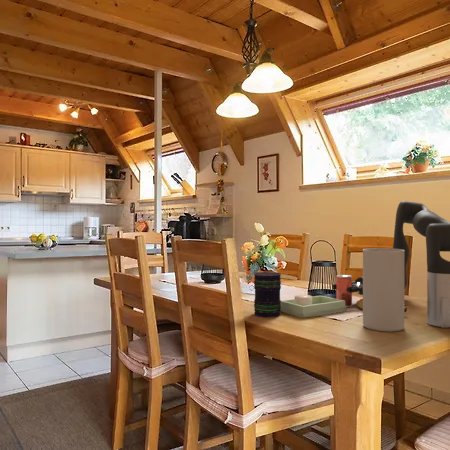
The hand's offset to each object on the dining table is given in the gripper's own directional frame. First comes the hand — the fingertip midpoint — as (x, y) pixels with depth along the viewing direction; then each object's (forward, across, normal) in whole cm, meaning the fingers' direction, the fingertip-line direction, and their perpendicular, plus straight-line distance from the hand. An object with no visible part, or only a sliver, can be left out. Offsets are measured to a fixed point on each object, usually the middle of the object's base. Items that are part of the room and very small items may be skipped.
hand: (340, 288), depth 173 cm
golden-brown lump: (-5, +15, +7) cm, 18 cm away
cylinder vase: (+14, +31, +7) cm, 35 cm away
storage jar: (+34, -4, +7) cm, 35 cm away
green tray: (+16, +1, +7) cm, 18 cm away
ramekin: (+21, +1, +5) cm, 22 cm away
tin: (-2, 0, +7) cm, 7 cm away
